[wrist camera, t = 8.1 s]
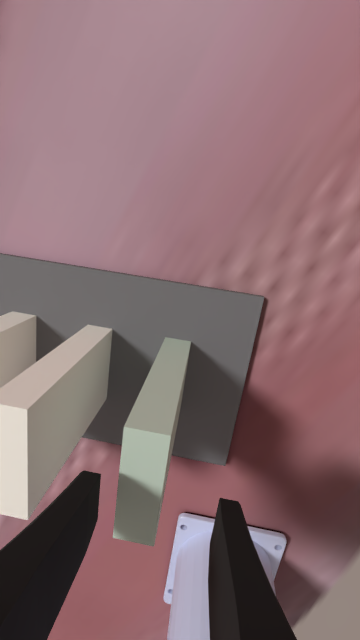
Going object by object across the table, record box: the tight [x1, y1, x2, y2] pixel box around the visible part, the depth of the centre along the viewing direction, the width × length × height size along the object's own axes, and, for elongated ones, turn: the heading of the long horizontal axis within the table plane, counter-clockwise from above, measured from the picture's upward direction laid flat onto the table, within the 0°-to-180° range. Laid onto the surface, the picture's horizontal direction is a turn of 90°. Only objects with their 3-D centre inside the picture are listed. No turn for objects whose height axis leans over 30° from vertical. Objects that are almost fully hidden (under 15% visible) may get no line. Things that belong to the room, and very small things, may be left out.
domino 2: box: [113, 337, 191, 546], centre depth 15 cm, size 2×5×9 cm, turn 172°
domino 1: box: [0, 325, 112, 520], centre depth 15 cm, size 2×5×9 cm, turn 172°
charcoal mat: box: [0, 253, 264, 466], centre depth 20 cm, size 12×29×1 cm, turn 82°
